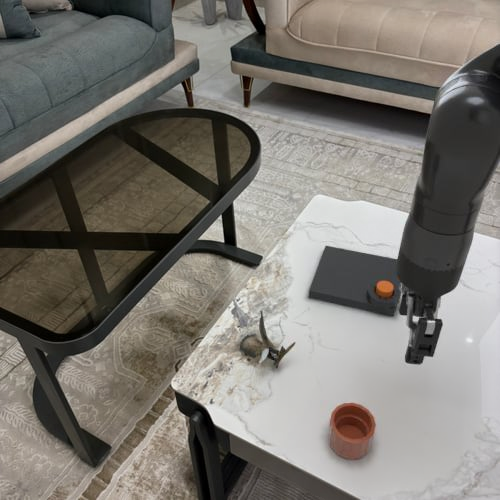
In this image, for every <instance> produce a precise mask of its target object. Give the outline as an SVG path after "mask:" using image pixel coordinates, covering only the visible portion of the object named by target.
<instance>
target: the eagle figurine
mask: <svg viewBox="0 0 500 500" xmlns="http://www.w3.org/2000/svg"><path fill="white" fill-rule="evenodd" d="M258 330H259V335H260V339H261V340H260V339H259V338H258V336H257V334H256V333H254V334H252V333H251V334H247V335H245V336H244V337H243V338H242V339H241V342H240V344H239V349H240V350H241V351H242V352H244V353H245V354H246V355H247V356H248V357H249V358H251V359H256V358H257V357H260V360H258V364H263V362H264V361H265V360H266V359H269V360H271V361H272V363H273V364H272V365H273V366H275V369H278V368H279V364H280V362H281V361H282V360H283V358H284V357H285V356H286V355H288V353H289V352H290V351H291V350H292V349H293V348H294V346H295V345H296V342H295V341H293V343H291V344H290V345H288V347H286V348H285V347H284V345H281V347H280V348H279V349H276V345H275V344H274V342H272V341H271V340H270V339H269V337H268V334H267V330H266V326H265V320H264V315H263V309H260V318H259V324H258Z"/></svg>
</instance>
